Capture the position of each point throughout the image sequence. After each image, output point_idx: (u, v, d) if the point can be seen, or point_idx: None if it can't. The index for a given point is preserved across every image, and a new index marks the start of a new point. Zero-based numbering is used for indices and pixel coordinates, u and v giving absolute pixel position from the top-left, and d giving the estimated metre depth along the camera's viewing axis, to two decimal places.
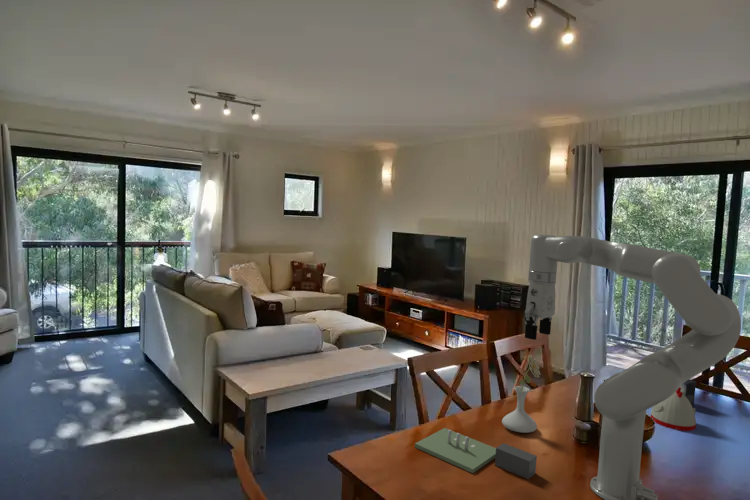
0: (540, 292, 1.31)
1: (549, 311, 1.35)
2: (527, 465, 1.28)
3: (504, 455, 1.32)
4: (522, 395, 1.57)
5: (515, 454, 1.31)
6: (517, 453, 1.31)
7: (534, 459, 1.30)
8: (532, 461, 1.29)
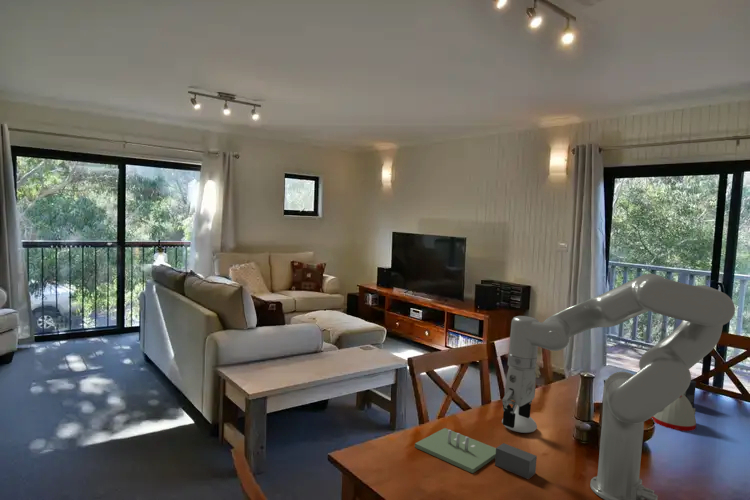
0: (519, 379, 1.26)
1: (528, 397, 1.30)
2: (527, 465, 1.28)
3: (504, 455, 1.32)
4: None
5: (515, 454, 1.31)
6: (517, 453, 1.31)
7: (534, 459, 1.30)
8: (532, 461, 1.29)
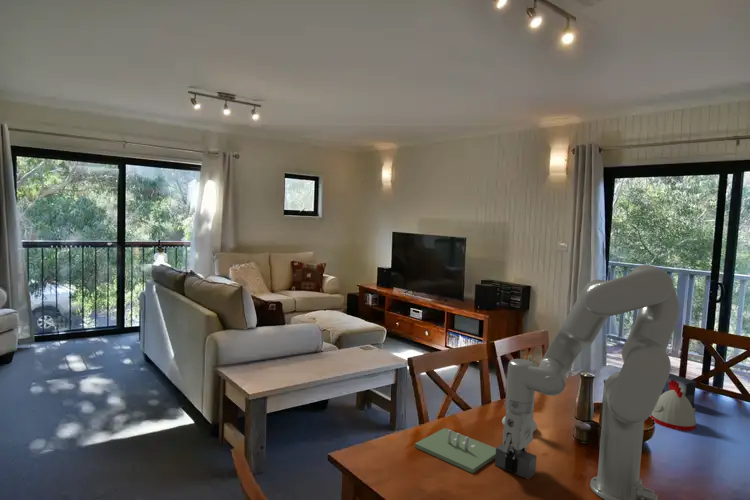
0: (516, 424, 1.27)
1: (526, 440, 1.30)
2: (527, 465, 1.28)
3: (504, 455, 1.32)
4: None
5: None
6: (517, 453, 1.31)
7: (534, 459, 1.30)
8: (532, 461, 1.29)
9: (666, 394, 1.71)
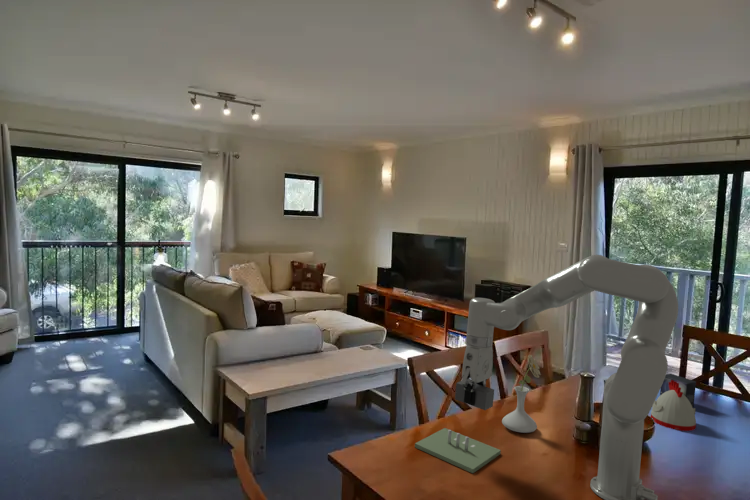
0: (475, 357, 1.33)
1: (485, 374, 1.36)
2: (484, 397, 1.34)
3: (463, 389, 1.38)
4: (522, 395, 1.57)
5: None
6: (476, 387, 1.37)
7: (491, 392, 1.36)
8: (489, 394, 1.35)
9: (666, 394, 1.71)
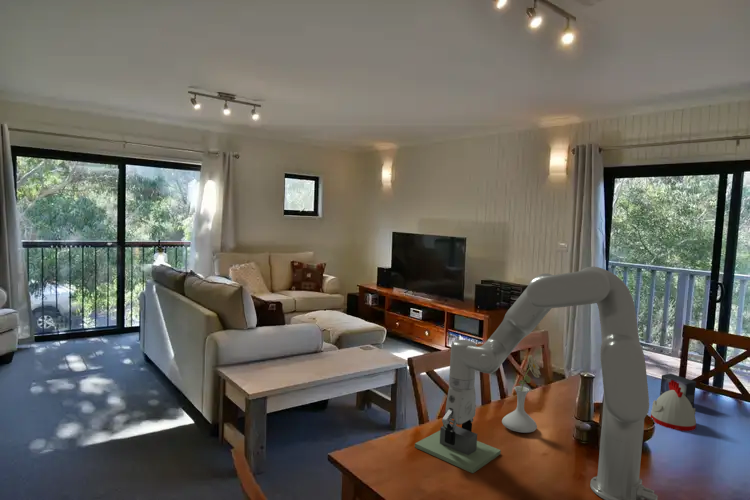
0: (457, 399, 1.36)
1: (468, 415, 1.39)
2: (467, 442, 1.37)
3: None
4: (522, 395, 1.57)
5: (457, 432, 1.40)
6: (459, 432, 1.40)
7: (474, 437, 1.39)
8: (472, 438, 1.38)
9: (666, 394, 1.71)
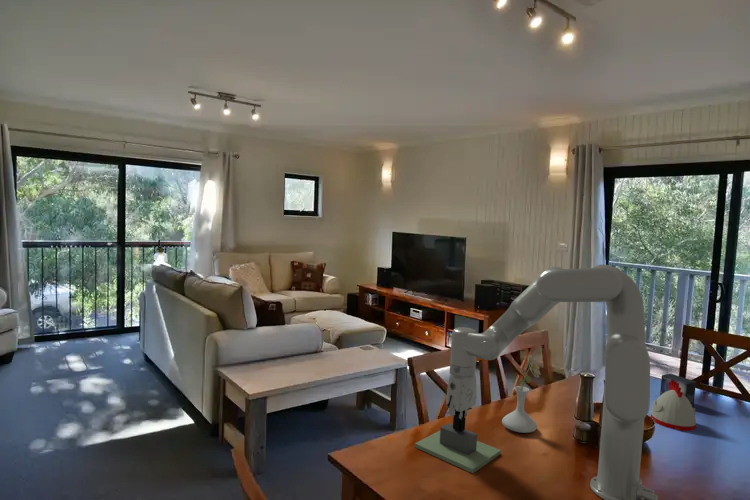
0: (458, 387, 1.36)
1: (469, 403, 1.39)
2: (467, 442, 1.37)
3: (447, 433, 1.41)
4: (522, 395, 1.57)
5: (457, 432, 1.40)
6: (459, 432, 1.40)
7: (474, 437, 1.39)
8: (472, 438, 1.38)
9: (666, 394, 1.71)
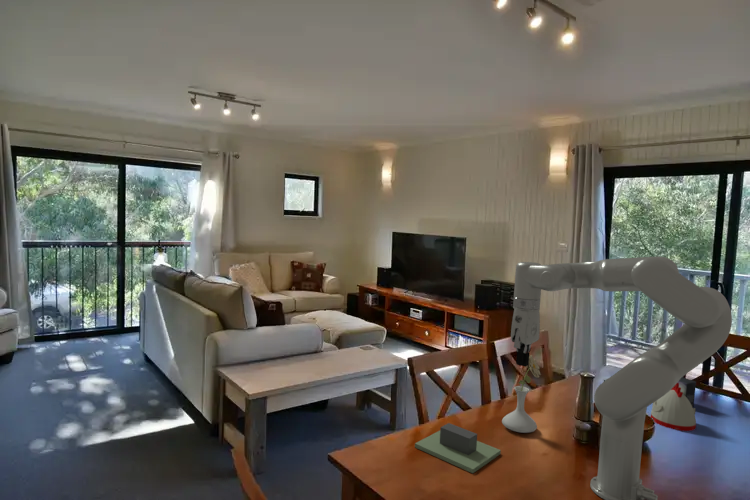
0: (524, 319, 1.35)
1: (533, 337, 1.38)
2: (467, 442, 1.37)
3: (447, 433, 1.41)
4: (522, 395, 1.57)
5: (457, 432, 1.40)
6: (459, 432, 1.40)
7: (474, 437, 1.39)
8: (472, 438, 1.38)
9: (666, 394, 1.71)
